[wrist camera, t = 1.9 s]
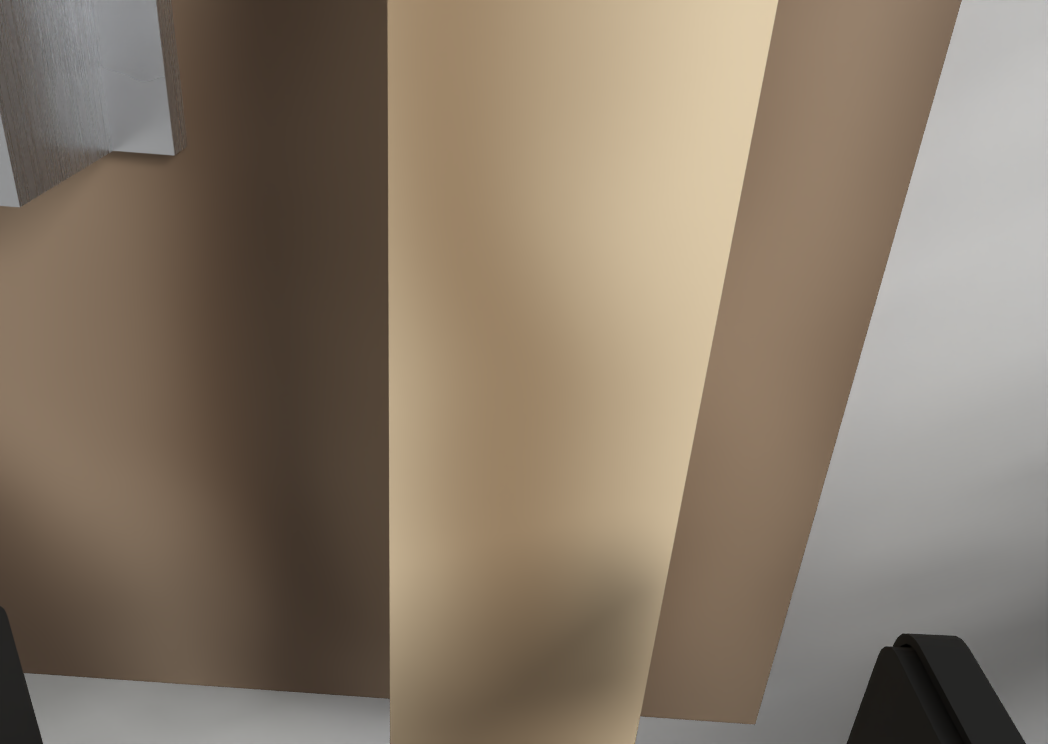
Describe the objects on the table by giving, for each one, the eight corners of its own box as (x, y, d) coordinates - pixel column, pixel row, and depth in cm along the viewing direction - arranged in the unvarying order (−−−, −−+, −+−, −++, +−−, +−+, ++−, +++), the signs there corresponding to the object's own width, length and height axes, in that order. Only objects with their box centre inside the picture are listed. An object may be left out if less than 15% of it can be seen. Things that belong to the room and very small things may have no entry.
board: (1073, -567, 12) (1139, -624, 10) (742, 675, 23) (755, 724, 21) (-618, -711, 11) (-770, -790, 10) (-121, 614, 23) (-163, 659, 21)
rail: (741, -283, 12) (851, -381, 8) (596, 668, 21) (608, 878, 16) (446, -308, 12) (385, -418, 8) (424, 655, 21) (390, 864, 16)
